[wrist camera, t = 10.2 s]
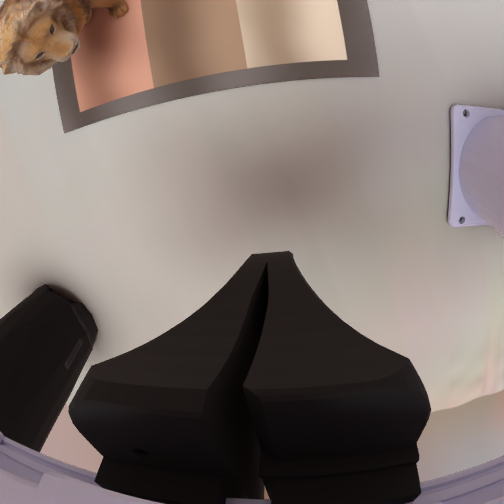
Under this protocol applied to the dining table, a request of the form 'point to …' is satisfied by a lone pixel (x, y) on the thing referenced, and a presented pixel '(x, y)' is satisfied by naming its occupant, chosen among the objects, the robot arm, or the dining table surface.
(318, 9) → the board
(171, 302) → the dining table surface
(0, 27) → the lion figurine
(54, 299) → the portable speaker
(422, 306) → the dining table surface
